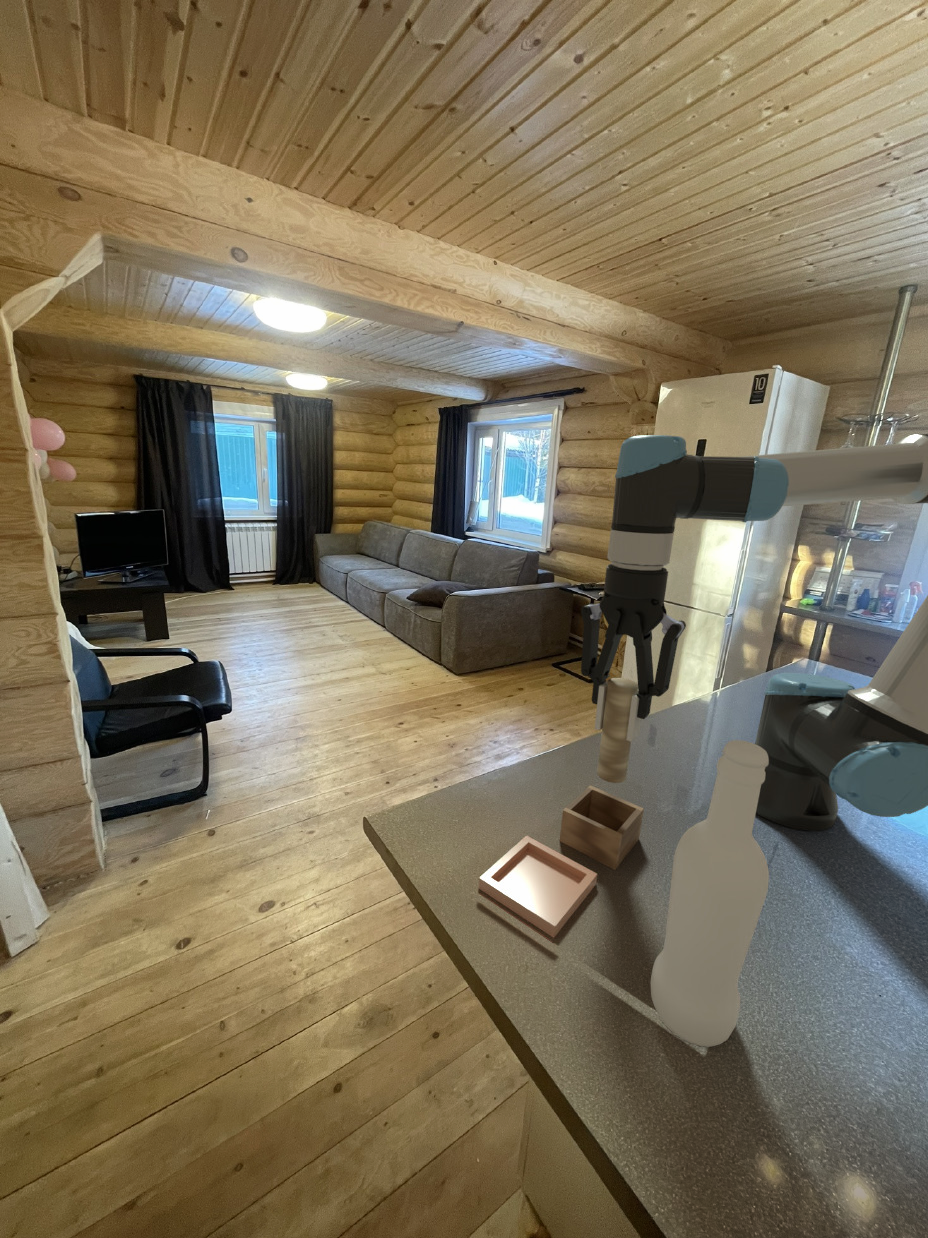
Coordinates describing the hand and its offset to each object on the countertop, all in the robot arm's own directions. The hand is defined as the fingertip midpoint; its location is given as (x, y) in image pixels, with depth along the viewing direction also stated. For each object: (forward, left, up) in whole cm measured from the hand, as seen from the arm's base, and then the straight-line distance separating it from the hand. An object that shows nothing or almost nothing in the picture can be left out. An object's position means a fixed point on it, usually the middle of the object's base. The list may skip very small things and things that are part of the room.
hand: (616, 731), depth 71 cm
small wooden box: (0, 0, -18) cm, 18 cm away
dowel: (0, 0, -7) cm, 7 cm away
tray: (+2, +14, -18) cm, 23 cm away
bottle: (-18, +17, -19) cm, 31 cm away
